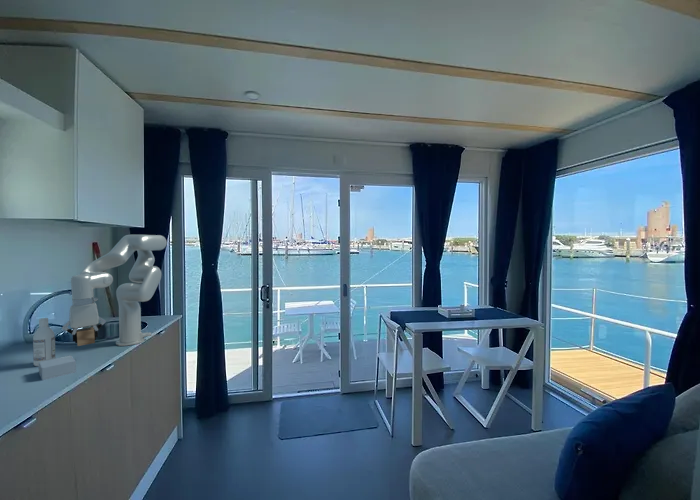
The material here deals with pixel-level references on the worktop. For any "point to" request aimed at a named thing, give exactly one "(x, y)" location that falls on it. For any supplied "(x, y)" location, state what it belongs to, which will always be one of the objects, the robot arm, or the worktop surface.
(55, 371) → the base block
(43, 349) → the bath foam
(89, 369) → the worktop surface
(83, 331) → the walnut cube
